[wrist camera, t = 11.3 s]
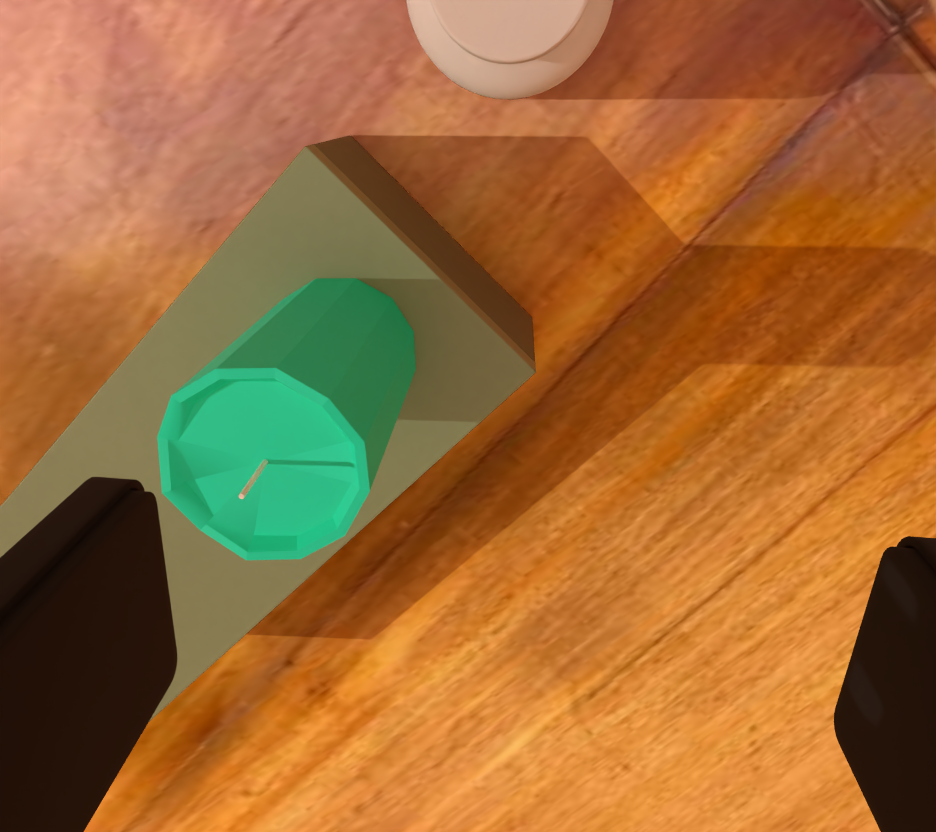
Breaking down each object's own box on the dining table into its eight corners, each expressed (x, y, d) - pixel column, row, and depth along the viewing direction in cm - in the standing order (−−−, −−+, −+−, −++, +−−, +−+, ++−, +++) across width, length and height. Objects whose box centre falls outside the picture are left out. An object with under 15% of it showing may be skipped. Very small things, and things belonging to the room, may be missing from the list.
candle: (332, 242, 29) (216, 334, 18) (448, 350, 30) (408, 498, 19) (237, 350, 31) (79, 494, 20) (350, 448, 32) (262, 633, 21)
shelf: (350, 134, 35) (305, 145, 28) (532, 318, 38) (536, 372, 30) (28, 506, 44) (-71, 590, 36) (195, 633, 46) (135, 734, 39)
